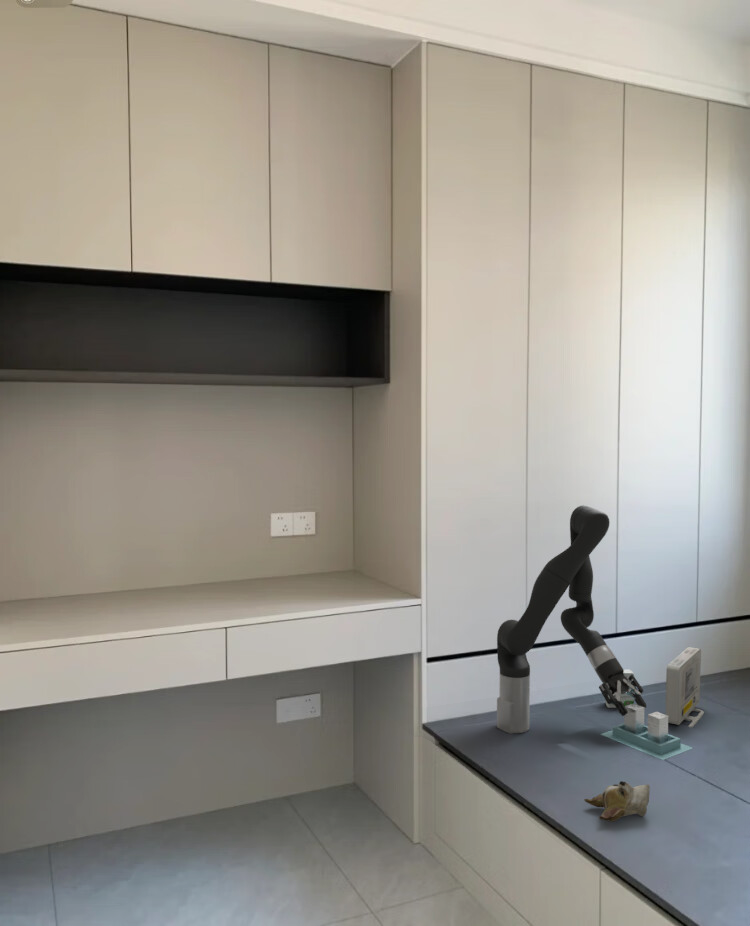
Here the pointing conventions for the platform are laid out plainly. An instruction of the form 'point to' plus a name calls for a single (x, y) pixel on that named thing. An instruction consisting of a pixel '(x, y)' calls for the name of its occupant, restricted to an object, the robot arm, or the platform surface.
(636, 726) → the block
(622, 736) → the teal flat tray
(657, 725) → the block
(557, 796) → the platform surface
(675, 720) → the network device
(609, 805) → the ceramic sculpture
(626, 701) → the ink box
